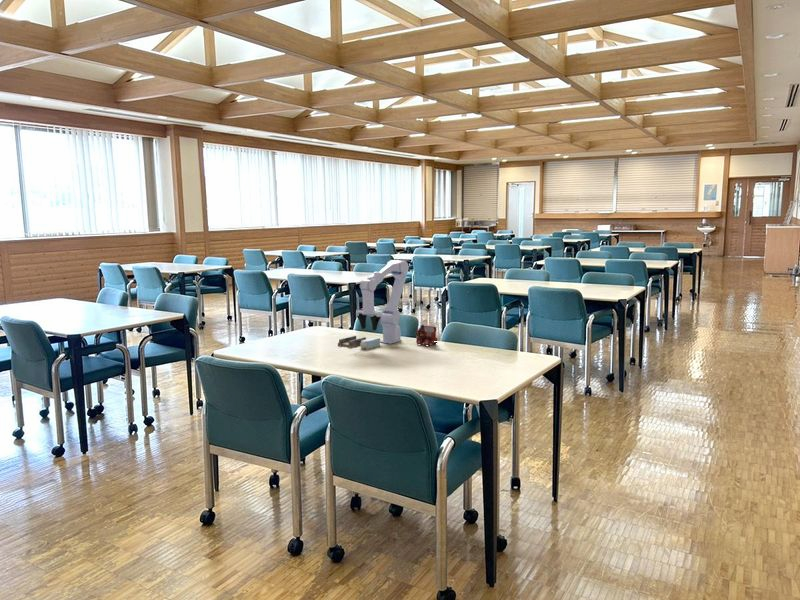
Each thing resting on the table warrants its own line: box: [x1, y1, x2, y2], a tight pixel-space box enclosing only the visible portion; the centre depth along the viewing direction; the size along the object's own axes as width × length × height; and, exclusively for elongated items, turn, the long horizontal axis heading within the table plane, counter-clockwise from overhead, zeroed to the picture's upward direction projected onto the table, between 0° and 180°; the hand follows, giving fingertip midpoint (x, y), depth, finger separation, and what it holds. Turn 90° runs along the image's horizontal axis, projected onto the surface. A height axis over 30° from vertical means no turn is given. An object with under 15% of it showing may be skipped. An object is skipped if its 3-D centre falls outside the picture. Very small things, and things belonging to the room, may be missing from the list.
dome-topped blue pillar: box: [359, 337, 381, 350], centre depth 302 cm, size 12×4×4 cm, turn 140°
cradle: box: [337, 335, 367, 348], centre depth 309 cm, size 12×10×3 cm
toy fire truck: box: [415, 324, 438, 347], centre depth 305 cm, size 7×12×10 cm, turn 48°
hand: (369, 329), depth 301 cm, fingers open, 7 cm apart
